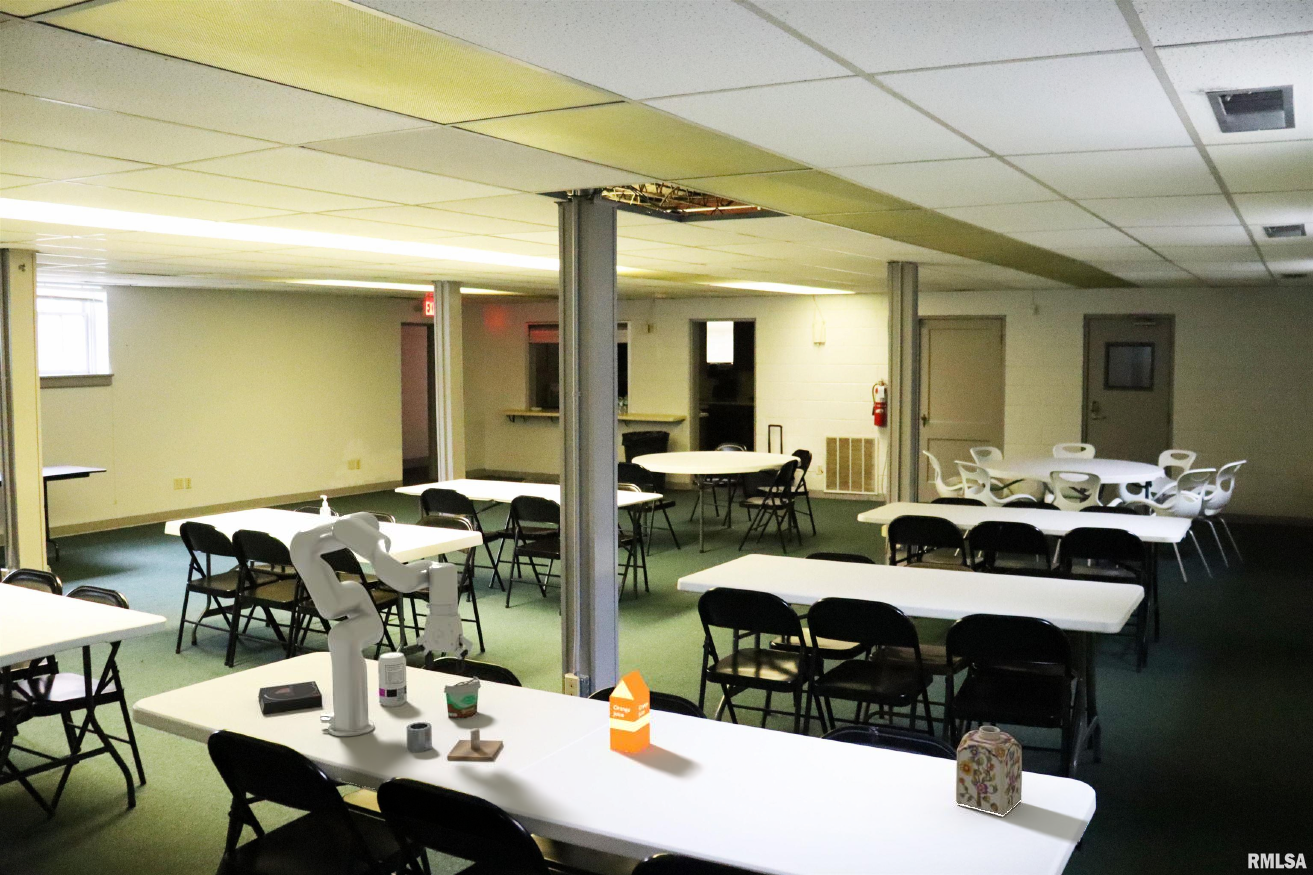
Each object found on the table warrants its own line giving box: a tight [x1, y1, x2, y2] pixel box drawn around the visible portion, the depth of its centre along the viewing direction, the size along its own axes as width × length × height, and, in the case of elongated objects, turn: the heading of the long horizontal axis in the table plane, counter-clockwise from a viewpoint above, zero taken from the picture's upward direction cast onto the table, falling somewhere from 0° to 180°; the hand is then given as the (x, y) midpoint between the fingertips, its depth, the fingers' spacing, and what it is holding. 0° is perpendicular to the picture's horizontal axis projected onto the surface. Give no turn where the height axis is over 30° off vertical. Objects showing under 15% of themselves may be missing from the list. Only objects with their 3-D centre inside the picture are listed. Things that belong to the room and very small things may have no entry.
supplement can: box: [377, 651, 408, 708], centre depth 326 cm, size 8×8×15 cm
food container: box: [443, 675, 482, 720], centre depth 314 cm, size 12×6×10 cm, turn 143°
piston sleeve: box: [406, 721, 433, 753], centre depth 288 cm, size 6×6×6 cm
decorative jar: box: [955, 725, 1023, 815], centre depth 248 cm, size 12×12×18 cm
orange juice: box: [609, 669, 651, 754], centre depth 287 cm, size 8×9×20 cm
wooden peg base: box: [446, 728, 504, 762], centre depth 284 cm, size 12×12×6 cm
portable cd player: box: [257, 680, 323, 716], centre depth 327 cm, size 16×17×4 cm
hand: (444, 670), depth 290 cm, fingers open, 9 cm apart
